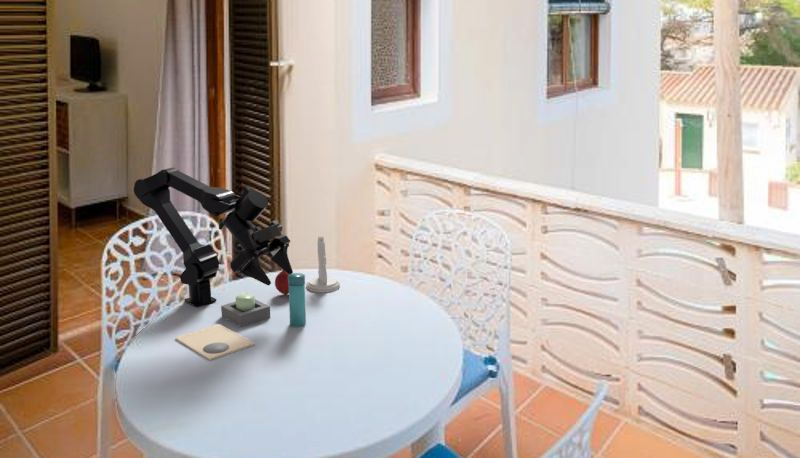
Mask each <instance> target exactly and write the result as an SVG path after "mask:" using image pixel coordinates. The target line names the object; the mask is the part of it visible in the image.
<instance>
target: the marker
mask: <svg viewBox="0 0 800 458" xmlns="http://www.w3.org/2000/svg"><path fill="white" fill-rule="evenodd" d="M288 284H289V293H288V304H289V310H288V311H289V325H290V326H291V327H292V328H293V327H294V328H301V327H304V326H305V325H307V324H306V323H307V318H306V317H307V316H306V315H307V314H306V313H307V312H306V288H305V286H306V276H305V274H304V273H301V272H294V273H292V274H289V275H288Z"/></svg>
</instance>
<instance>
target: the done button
mask: <svg viewBox="0 0 800 458" xmlns="http://www.w3.org/2000/svg"><path fill="white" fill-rule="evenodd" d="M255 300H256V297H255V295H254V294H252V293H241V294H238V295H236V296H235V302H236V310H238V311H240V312H245V311H248V310H251V309H255Z"/></svg>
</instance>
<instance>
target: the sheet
mask: <svg viewBox="0 0 800 458" xmlns="http://www.w3.org/2000/svg"><path fill="white" fill-rule="evenodd" d="M174 338H175V339H174V340H176V341H178V342H179V343H181V344H183V345H184V346H186V347H187V348H189V349H191V350H192V351H194V352H196V353H197V354H199V355H200V356H202V357H204V358H205V359H207V360H208V361H213V360H215V359H218V358H220V357H224V356H226V355H230V354H232V353H236V352H238V351H241V350H243V349H247V348H249V347H252V346H255V345H256V343H255V342H253V341H252V340H250V339H248V338H246V337H244V336H242V335H240V334H239V333H237V332H235V331H234V330H232V329H229V328H228V327H226V326H224V325H222V324H221V323H217V324H214V325H211V326H207V327H205V328H202V329H198V330H195V331H191V332H189V333H185V334H182V335H179V336H175V337H174Z"/></svg>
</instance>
